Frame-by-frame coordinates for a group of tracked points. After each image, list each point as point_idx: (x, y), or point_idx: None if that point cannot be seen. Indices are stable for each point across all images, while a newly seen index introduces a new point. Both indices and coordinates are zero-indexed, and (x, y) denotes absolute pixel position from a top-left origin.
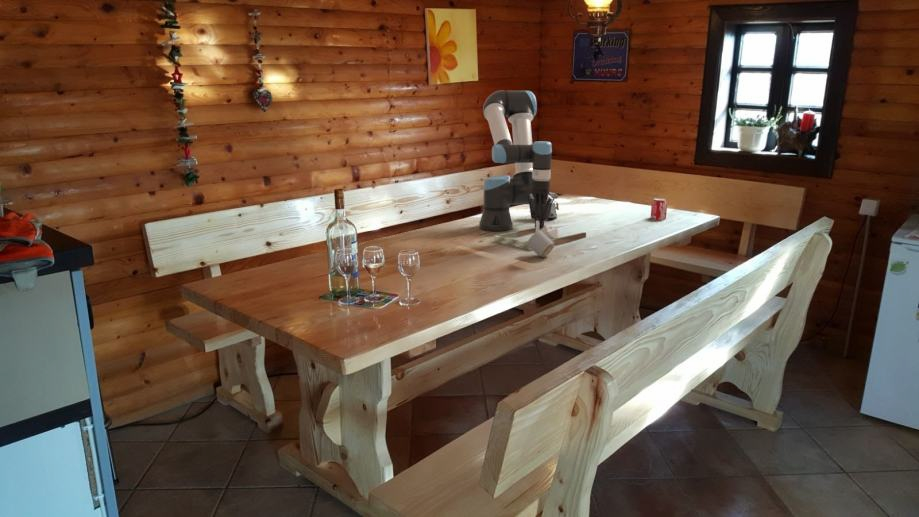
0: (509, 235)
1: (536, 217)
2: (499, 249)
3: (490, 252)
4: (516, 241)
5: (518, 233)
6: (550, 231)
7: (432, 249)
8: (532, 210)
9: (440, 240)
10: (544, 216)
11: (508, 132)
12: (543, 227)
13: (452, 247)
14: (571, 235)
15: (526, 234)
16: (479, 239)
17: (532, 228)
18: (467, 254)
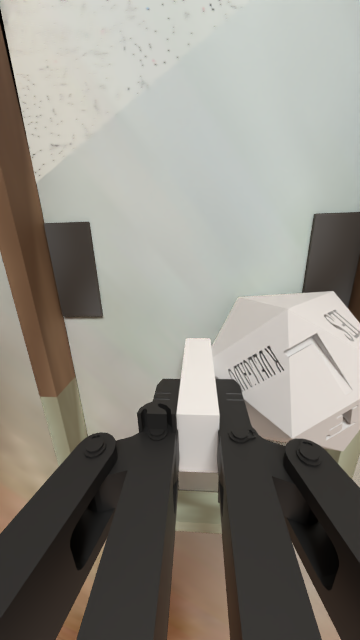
0: (76, 444)
1: (175, 508)
2: (202, 555)
3: (213, 589)
4: (218, 528)
5: (61, 383)
6: (356, 433)
7: (76, 631)
8: (59, 628)
9: None
10: (328, 559)
11: None
12: (277, 438)
13: (85, 601)
14: None
15: (55, 307)
16: (22, 498)
17: (3, 231)
18: (184, 626)
